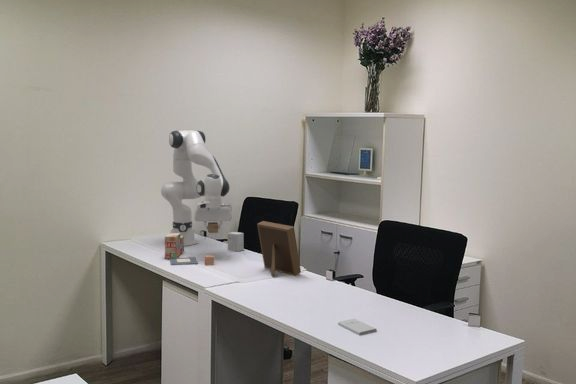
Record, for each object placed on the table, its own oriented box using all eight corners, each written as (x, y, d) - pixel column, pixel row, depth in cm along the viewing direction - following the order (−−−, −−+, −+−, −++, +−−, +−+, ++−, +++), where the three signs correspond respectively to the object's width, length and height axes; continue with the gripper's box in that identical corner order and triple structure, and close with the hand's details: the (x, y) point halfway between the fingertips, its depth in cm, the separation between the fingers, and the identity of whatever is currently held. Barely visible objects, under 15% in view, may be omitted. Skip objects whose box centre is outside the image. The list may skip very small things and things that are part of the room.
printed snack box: (173, 251, 326) (173, 230, 325) (184, 251, 326) (184, 230, 325) (164, 258, 305) (164, 236, 304) (176, 258, 304) (176, 236, 303)
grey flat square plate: (169, 259, 306) (169, 257, 306) (195, 258, 309) (195, 256, 309) (170, 265, 292) (170, 263, 292) (197, 264, 296) (197, 262, 296)
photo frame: (270, 266, 294) (270, 219, 291) (300, 274, 279) (301, 225, 276) (249, 271, 283) (249, 223, 280) (280, 279, 269) (281, 229, 266)
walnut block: (208, 231, 307) (208, 222, 307) (217, 231, 309) (217, 222, 308) (209, 232, 303) (209, 223, 302) (218, 232, 304) (218, 223, 303)
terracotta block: (204, 263, 298) (204, 255, 297) (212, 263, 299) (213, 255, 298) (205, 265, 293) (205, 257, 293) (213, 265, 295) (213, 256, 294)
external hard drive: (359, 336, 197) (337, 325, 208) (376, 332, 202) (354, 322, 212) (359, 332, 197) (338, 321, 208) (376, 328, 202) (355, 318, 212)
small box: (243, 250, 332) (244, 233, 331) (238, 252, 327) (238, 234, 326) (233, 248, 336) (233, 231, 335) (227, 250, 331) (227, 232, 330)
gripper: (231, 203, 310) (230, 227, 311) (194, 203, 305) (194, 228, 306) (232, 204, 304) (232, 229, 305) (195, 205, 298) (195, 230, 300)
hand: (213, 229), depth 306 cm, fingers closed on walnut block, 5 cm apart
